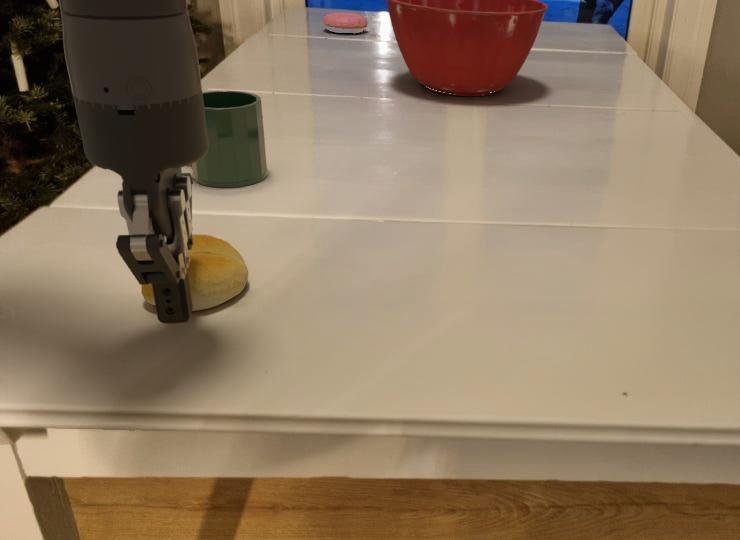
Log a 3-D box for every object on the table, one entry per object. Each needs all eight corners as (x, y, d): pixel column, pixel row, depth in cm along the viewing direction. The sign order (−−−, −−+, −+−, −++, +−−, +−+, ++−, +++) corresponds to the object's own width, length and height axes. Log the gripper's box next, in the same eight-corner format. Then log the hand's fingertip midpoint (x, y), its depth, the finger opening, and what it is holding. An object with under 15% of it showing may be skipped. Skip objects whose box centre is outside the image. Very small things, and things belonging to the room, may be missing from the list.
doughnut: (370, 29, 181) (370, 11, 179) (365, 36, 171) (364, 18, 169) (327, 26, 181) (326, 9, 179) (319, 34, 171) (318, 15, 169)
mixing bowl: (536, 75, 143) (544, -7, 136) (543, 113, 117) (553, 14, 110) (395, 67, 143) (396, -16, 136) (372, 102, 117) (371, 2, 110)
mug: (281, 172, 86) (276, 98, 82) (231, 193, 79) (222, 113, 75) (211, 154, 90) (202, 82, 86) (157, 171, 84) (145, 95, 80)
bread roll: (142, 322, 55) (134, 276, 53) (146, 270, 62) (139, 228, 61) (254, 308, 58) (249, 264, 56) (245, 259, 65) (240, 219, 63)
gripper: (102, 62, 50) (142, 278, 58) (36, 112, 39) (97, 373, 47) (214, 64, 52) (238, 275, 60) (182, 113, 40) (217, 366, 48)
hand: (176, 318), depth 53 cm, fingers closed
